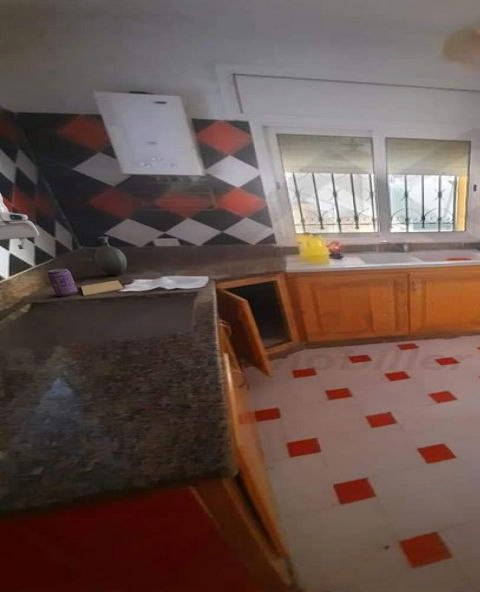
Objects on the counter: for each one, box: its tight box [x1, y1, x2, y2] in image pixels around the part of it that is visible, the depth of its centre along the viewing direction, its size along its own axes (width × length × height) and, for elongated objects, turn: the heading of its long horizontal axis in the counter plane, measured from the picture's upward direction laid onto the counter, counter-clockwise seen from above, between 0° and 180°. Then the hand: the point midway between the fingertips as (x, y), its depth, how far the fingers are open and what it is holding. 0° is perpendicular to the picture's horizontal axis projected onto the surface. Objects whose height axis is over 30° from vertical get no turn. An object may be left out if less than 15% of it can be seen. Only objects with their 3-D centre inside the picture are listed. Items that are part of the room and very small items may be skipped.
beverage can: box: [47, 268, 79, 297], centre depth 148 cm, size 7×7×12 cm
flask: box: [94, 236, 128, 276], centre depth 178 cm, size 12×17×22 cm
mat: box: [80, 279, 124, 297], centre depth 159 cm, size 14×20×1 cm
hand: (9, 250), depth 134 cm, fingers open, 6 cm apart
